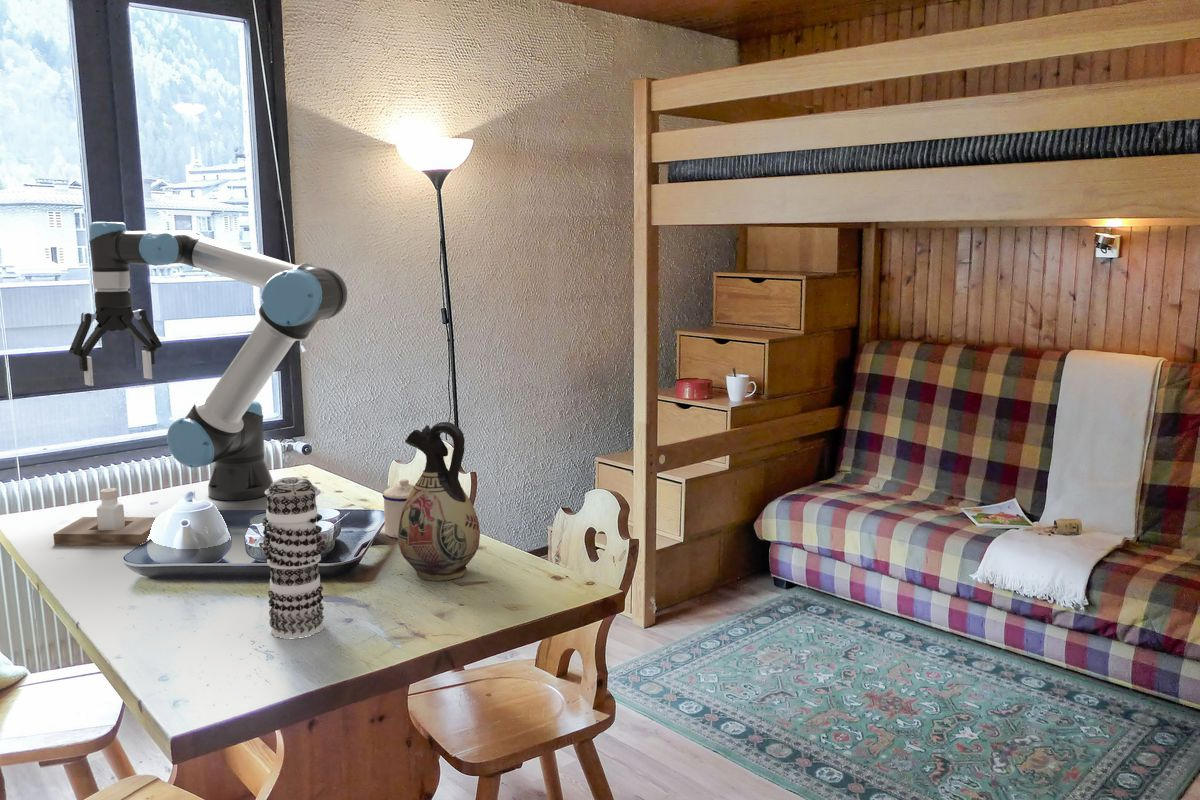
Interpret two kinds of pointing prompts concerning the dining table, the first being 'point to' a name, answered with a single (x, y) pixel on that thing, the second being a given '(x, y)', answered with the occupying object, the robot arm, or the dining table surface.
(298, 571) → the decorative candle
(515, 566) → the dining table surface
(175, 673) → the dining table surface
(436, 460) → the ceramic jug
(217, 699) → the dining table surface
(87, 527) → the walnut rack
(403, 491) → the teacup with lid
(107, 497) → the salt shaker
